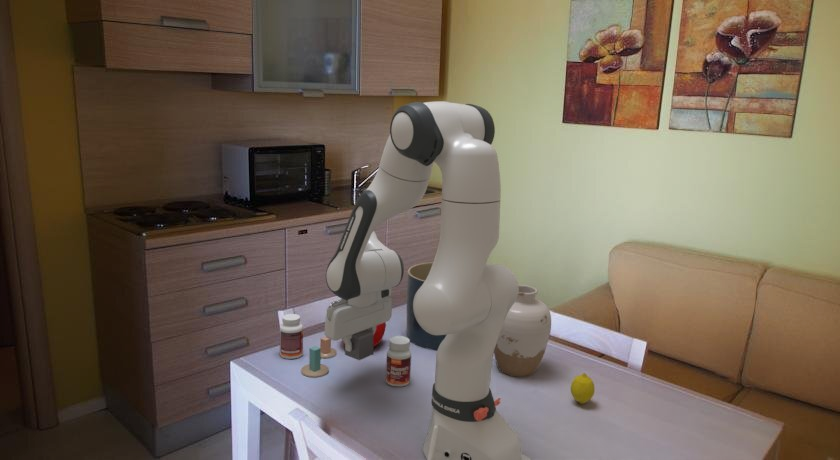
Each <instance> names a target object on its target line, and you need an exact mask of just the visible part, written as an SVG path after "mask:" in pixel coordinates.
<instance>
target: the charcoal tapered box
mask: <svg viewBox="0 0 840 460" xmlns="http://www.w3.org/2000/svg"><path fill="white" fill-rule="evenodd" d="M350 341H351V343H354V350H352V351H350V352H349V351H346V349H345V348H344V355H345V356H347V357H350V358H352V359H355V360H357V361H361V360H363V359H365V358H368V357H370V356H373V355H374V347H373V332H372V331H369V330H367V329H366V330H363V331H361V332H358V333H355V334H353V335H352V338H351V339H350Z"/></svg>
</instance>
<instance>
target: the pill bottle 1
mask: <svg viewBox="0 0 840 460" xmlns="http://www.w3.org/2000/svg"><path fill="white" fill-rule="evenodd" d="M281 322H282V323H281V324H280V326H279V356H281V357H282V358H283V359H285V360H286V359H288V360H294V359H298V358H300V357H302V355H303V354H304V327H303V326H304V325H303V324H302V323H301V316H300V315H299V314H296V313H287V314H284V315H283V316H282V320H281Z"/></svg>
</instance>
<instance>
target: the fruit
mask: <svg viewBox="0 0 840 460" xmlns="http://www.w3.org/2000/svg"><path fill="white" fill-rule="evenodd" d="M570 393H571V396H572V398H573V399H574V400H575V401H577V402H578V403H579V404H582V405H583V404H585V403H587V402H589V401H590V400H591V399H592V398H593V396H594V394H595V384H594V381H593V380H592V378H591V377H590V376H588V375H587V374H586V373H584V372H583V374H579V375H577V376H575V377H574V378H573V379H572V382H571V384H570Z"/></svg>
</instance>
